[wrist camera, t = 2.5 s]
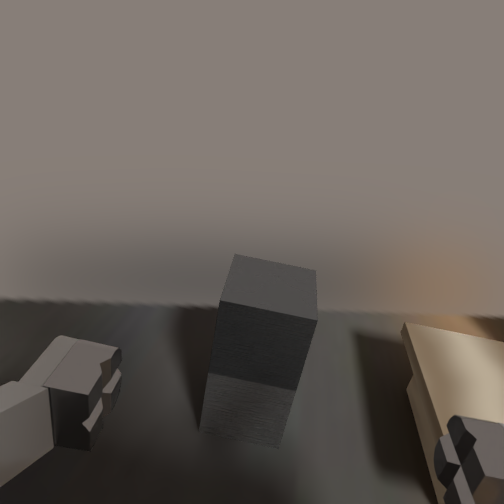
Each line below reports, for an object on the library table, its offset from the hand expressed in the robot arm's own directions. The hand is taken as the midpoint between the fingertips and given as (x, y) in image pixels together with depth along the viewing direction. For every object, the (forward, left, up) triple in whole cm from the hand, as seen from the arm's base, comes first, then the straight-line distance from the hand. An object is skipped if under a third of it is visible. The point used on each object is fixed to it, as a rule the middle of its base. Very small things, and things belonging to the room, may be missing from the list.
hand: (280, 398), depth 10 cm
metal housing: (0, +12, -14) cm, 19 cm away
